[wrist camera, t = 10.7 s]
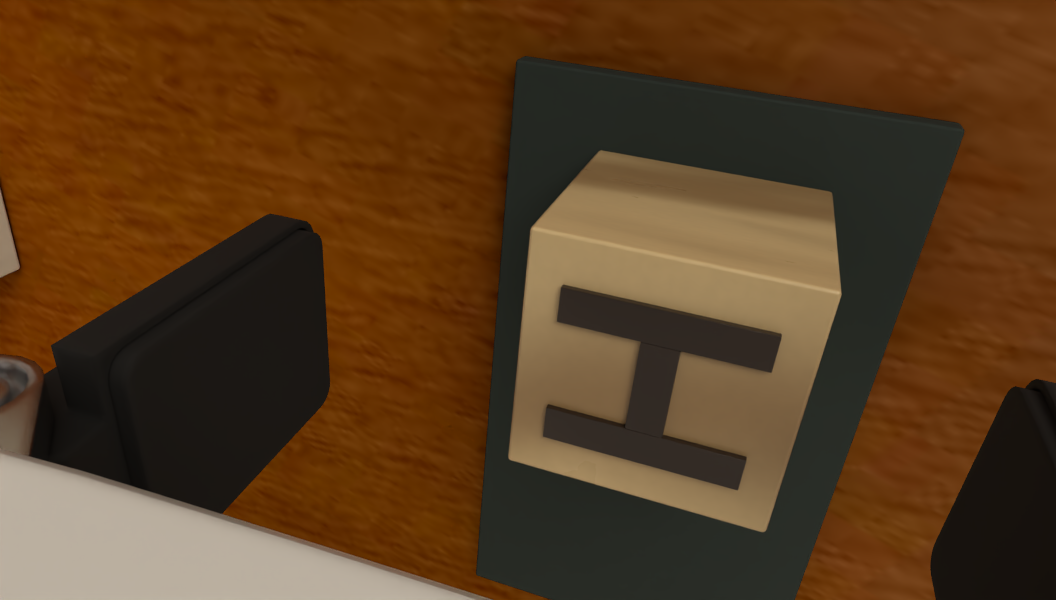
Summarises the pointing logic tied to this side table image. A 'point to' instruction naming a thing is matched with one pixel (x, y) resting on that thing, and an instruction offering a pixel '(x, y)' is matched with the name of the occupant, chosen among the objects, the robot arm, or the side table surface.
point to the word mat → (845, 368)
